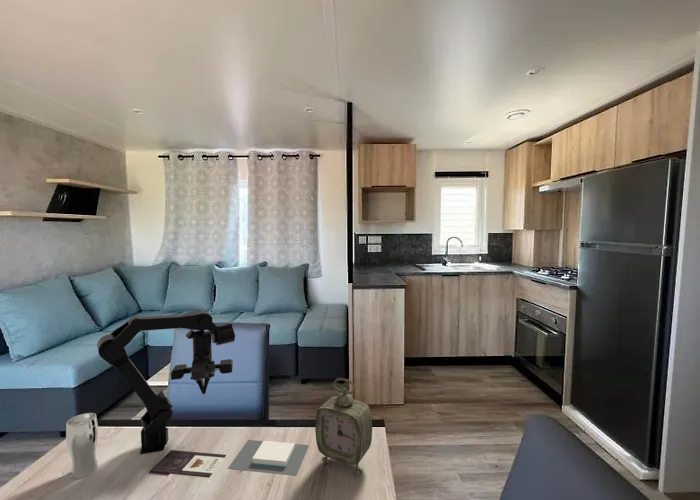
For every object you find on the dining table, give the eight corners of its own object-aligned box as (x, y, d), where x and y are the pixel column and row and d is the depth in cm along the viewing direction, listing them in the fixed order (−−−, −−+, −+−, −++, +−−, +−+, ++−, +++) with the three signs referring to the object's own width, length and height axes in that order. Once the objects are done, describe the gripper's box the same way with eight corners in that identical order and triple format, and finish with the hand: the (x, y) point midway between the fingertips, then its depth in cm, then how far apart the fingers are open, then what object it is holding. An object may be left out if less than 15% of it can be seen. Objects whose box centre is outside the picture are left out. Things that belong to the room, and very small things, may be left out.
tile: (252, 458, 96) (285, 461, 94) (263, 440, 104) (294, 443, 102) (252, 464, 96) (286, 467, 94) (263, 446, 104) (294, 449, 102)
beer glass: (73, 466, 96) (70, 415, 95) (103, 459, 99) (100, 410, 98) (64, 483, 90) (60, 428, 89) (96, 475, 93) (92, 422, 92)
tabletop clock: (315, 465, 96) (314, 379, 94) (332, 446, 104) (330, 367, 102) (361, 482, 89) (360, 390, 88) (375, 461, 97) (374, 376, 96)
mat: (227, 469, 94) (227, 468, 94) (248, 441, 107) (248, 439, 107) (296, 476, 91) (296, 475, 91) (309, 446, 104) (309, 445, 104)
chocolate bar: (170, 450, 102) (226, 454, 100) (170, 453, 102) (226, 457, 100) (149, 471, 93) (209, 476, 91) (149, 474, 94) (209, 479, 91)
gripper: (165, 360, 102) (167, 410, 103) (230, 353, 108) (231, 401, 109) (173, 348, 113) (175, 393, 114) (232, 342, 118) (233, 385, 119)
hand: (204, 393), depth 114 cm, fingers closed
